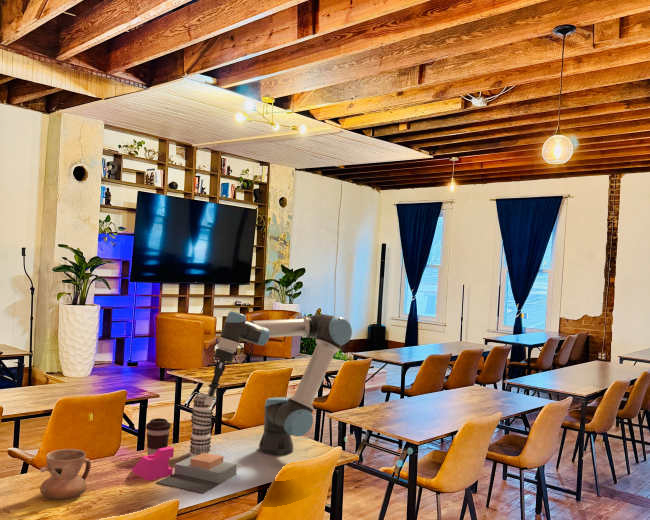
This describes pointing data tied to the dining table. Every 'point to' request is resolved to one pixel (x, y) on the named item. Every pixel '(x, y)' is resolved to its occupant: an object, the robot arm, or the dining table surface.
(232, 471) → the board
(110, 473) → the dining table surface
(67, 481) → the ceramic jug
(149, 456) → the bracket
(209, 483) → the mat
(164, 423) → the coffee cup
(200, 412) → the decorative candle
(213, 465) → the coaster
